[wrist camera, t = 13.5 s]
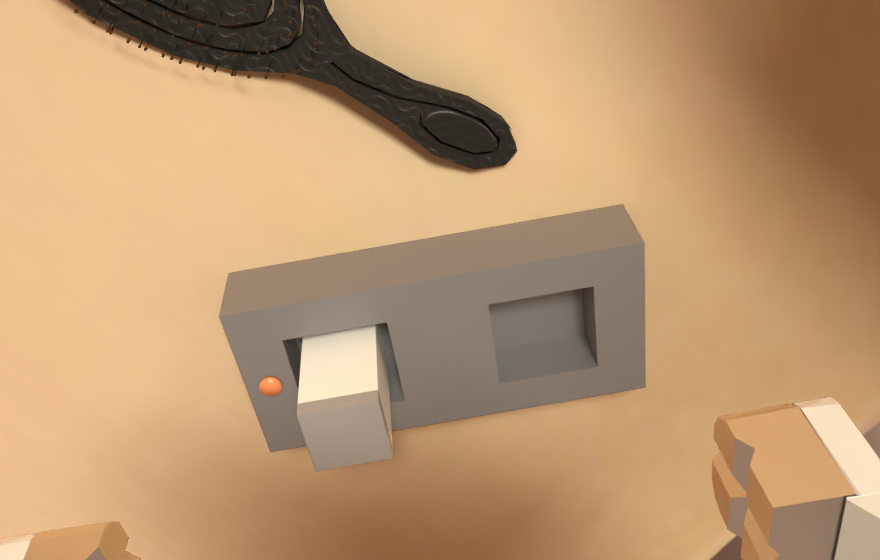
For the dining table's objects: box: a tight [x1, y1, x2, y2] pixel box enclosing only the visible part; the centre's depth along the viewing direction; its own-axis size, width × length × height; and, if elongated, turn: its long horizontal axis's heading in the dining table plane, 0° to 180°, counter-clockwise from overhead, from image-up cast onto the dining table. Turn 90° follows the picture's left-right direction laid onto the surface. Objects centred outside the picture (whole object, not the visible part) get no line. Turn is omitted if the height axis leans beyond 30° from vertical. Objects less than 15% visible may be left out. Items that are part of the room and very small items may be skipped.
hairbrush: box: [70, 0, 517, 169], centre depth 37 cm, size 8×4×25 cm
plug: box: [297, 324, 393, 471], centre depth 44 cm, size 4×4×8 cm
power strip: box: [219, 204, 645, 452], centre depth 46 cm, size 22×10×4 cm, turn 99°
